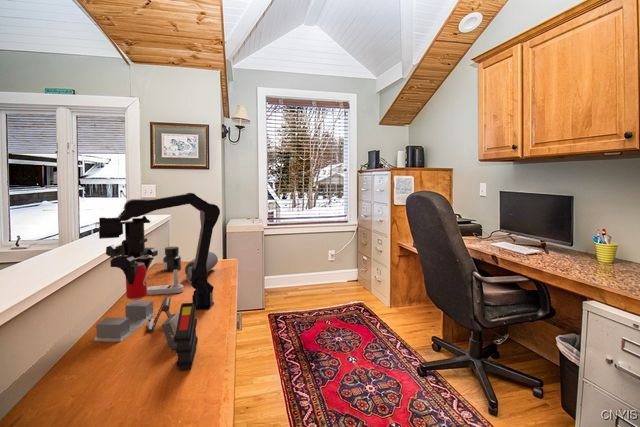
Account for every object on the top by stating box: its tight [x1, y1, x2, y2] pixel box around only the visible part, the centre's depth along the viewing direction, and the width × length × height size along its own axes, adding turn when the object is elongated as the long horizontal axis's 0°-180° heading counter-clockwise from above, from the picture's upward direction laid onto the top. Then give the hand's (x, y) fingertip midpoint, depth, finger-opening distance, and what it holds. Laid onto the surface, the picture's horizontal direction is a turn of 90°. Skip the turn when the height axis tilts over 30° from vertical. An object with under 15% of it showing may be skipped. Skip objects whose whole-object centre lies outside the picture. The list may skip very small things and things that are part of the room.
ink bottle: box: [162, 246, 182, 272], centre depth 182 cm, size 10×9×12 cm
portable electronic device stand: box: [146, 296, 172, 334], centre depth 112 cm, size 9×8×8 cm
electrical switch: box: [161, 309, 180, 351], centre depth 99 cm, size 9×5×9 cm, turn 2°
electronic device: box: [147, 270, 185, 296], centre depth 145 cm, size 5×10×15 cm
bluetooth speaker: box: [184, 251, 219, 276], centre depth 172 cm, size 23×9×10 cm, turn 178°
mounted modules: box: [95, 300, 154, 338], centre depth 111 cm, size 7×20×4 cm, turn 0°
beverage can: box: [125, 262, 148, 301], centre depth 116 cm, size 6×6×12 cm
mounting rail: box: [93, 310, 156, 343], centre depth 111 cm, size 8×21×1 cm, turn 0°
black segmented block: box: [174, 302, 199, 372], centre depth 90 cm, size 4×13×15 cm, turn 13°
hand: (136, 281), depth 116 cm, fingers closed on beverage can, 6 cm apart
